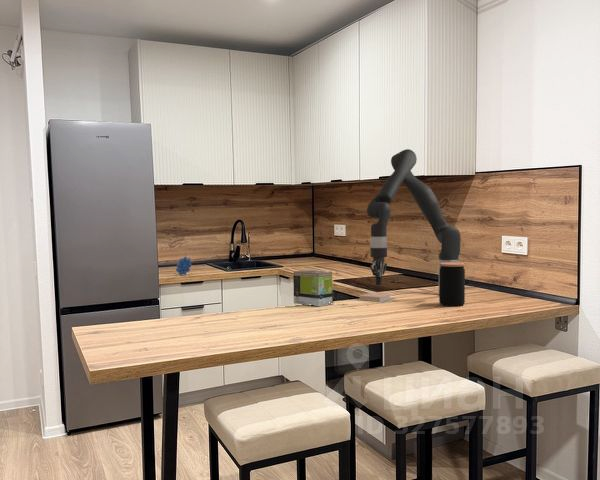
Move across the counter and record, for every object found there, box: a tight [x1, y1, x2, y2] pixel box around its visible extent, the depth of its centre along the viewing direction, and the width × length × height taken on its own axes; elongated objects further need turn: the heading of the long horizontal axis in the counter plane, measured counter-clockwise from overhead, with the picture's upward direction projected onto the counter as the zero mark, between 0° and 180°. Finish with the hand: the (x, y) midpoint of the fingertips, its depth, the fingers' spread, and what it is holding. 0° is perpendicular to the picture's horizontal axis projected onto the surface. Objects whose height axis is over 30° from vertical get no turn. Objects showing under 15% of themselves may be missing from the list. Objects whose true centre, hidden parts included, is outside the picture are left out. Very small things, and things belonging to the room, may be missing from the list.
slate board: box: [355, 297, 397, 303], centre depth 253 cm, size 14×14×2 cm
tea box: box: [292, 269, 333, 307], centre depth 250 cm, size 15×10×15 cm, turn 47°
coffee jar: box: [438, 262, 466, 308], centre depth 244 cm, size 11×11×18 cm
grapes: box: [175, 256, 193, 275], centre depth 374 cm, size 12×7×12 cm, turn 134°
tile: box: [359, 292, 391, 303], centre depth 252 cm, size 10×2×10 cm
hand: (378, 284), depth 255 cm, fingers closed
